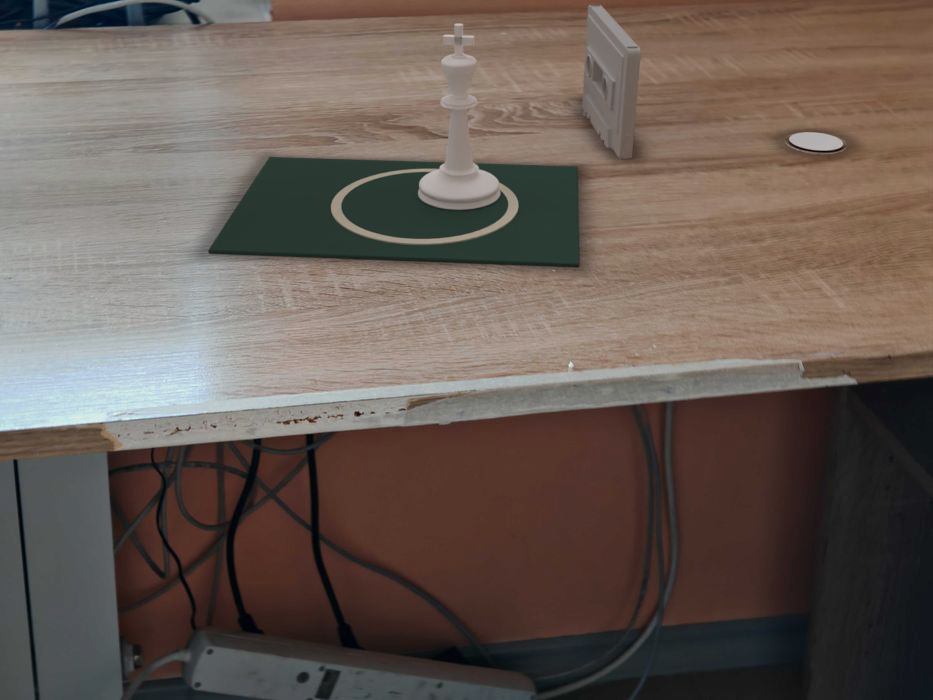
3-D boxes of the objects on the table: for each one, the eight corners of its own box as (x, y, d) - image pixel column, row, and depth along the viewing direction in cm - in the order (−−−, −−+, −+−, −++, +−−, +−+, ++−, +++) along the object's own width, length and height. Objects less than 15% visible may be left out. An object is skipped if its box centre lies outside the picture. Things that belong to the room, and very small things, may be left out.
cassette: (639, 166, 71) (649, 49, 67) (611, 167, 71) (620, 50, 67) (599, 107, 81) (606, 3, 77) (575, 108, 81) (580, 3, 77)
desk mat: (209, 263, 59) (207, 247, 58) (270, 167, 71) (268, 154, 70) (578, 277, 57) (579, 261, 57) (577, 177, 69) (577, 163, 69)
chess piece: (425, 176, 67) (422, 12, 62) (504, 180, 66) (508, 15, 61) (410, 207, 63) (406, 34, 58) (495, 212, 62) (498, 38, 57)
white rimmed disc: (772, 148, 73) (773, 140, 73) (806, 135, 76) (807, 127, 75) (822, 165, 71) (824, 156, 71) (857, 151, 73) (858, 142, 73)
